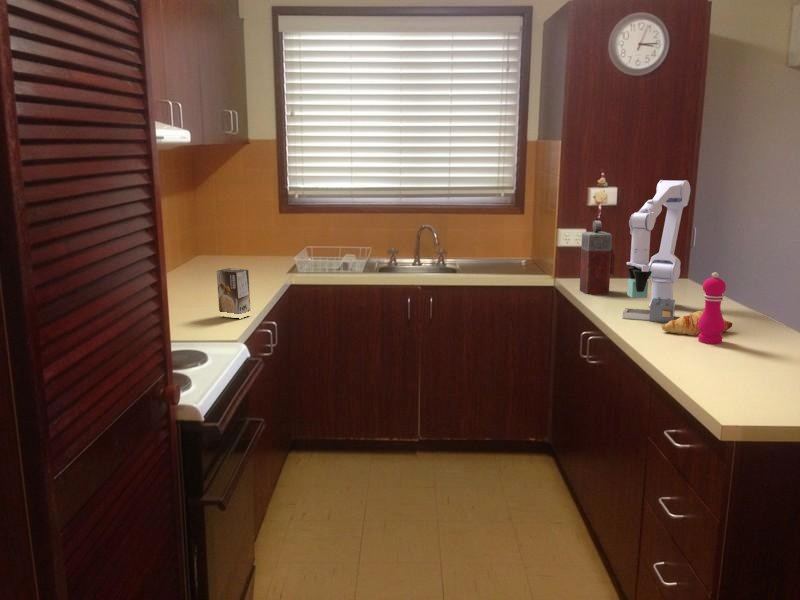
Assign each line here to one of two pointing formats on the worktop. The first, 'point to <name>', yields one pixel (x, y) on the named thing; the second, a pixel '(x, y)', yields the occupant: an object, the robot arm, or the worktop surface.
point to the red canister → (596, 261)
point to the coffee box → (233, 291)
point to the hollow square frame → (653, 311)
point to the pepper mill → (712, 311)
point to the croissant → (688, 324)
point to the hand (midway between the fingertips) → (637, 290)
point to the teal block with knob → (633, 292)
